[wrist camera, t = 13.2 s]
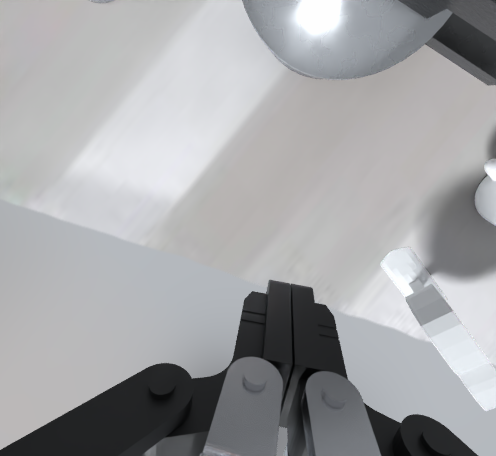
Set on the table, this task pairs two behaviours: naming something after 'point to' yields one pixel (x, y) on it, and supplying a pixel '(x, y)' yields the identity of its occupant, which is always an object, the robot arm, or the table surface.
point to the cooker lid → (357, 31)
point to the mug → (487, 193)
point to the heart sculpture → (442, 325)
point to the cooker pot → (460, 49)
